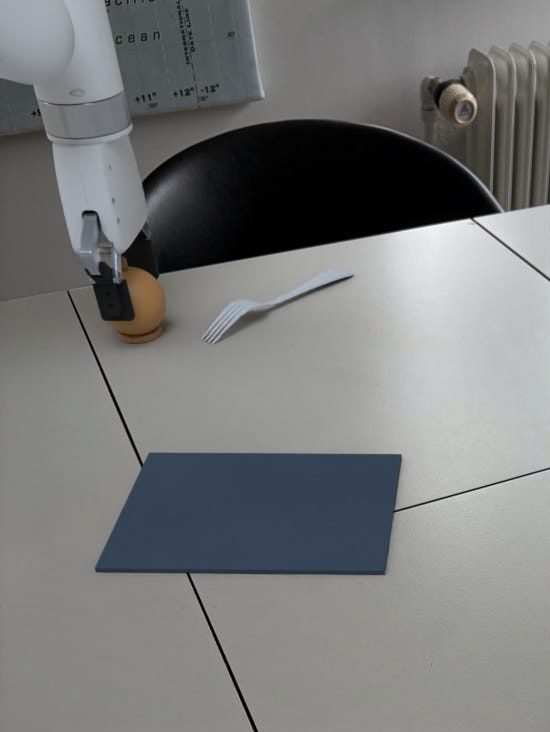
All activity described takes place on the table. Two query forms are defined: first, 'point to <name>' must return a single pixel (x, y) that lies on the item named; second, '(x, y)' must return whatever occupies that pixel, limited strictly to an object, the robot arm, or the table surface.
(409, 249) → the table surface
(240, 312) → the fork
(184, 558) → the mat
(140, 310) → the orange ball with stem
